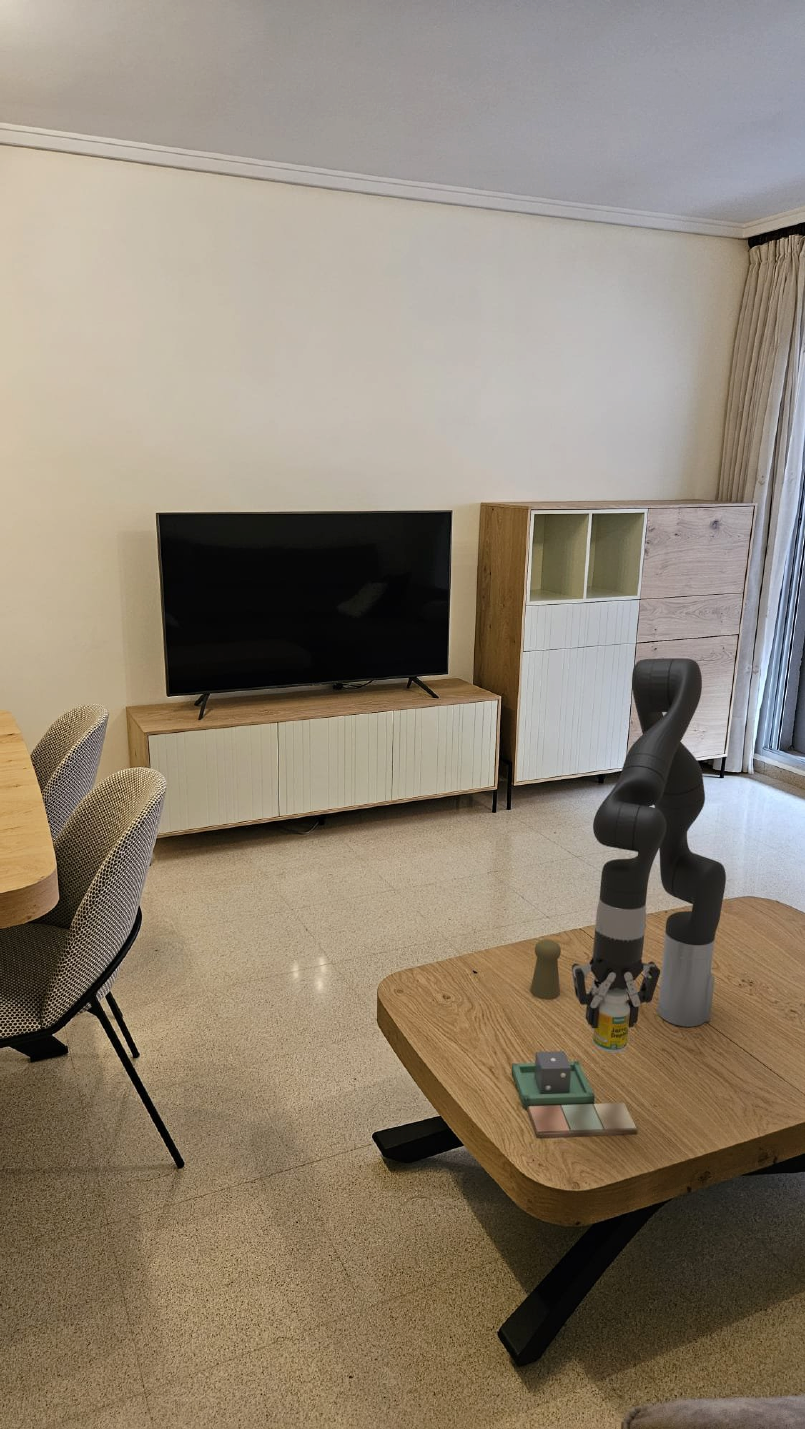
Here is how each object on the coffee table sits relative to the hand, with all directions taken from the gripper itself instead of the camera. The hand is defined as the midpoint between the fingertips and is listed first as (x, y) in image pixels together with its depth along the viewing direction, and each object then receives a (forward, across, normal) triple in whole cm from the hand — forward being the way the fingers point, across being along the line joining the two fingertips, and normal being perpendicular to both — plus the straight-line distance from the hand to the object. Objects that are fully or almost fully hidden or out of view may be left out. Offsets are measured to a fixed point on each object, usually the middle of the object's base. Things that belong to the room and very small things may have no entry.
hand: (610, 1024), depth 156 cm
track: (+18, +3, -1) cm, 18 cm away
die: (+17, +6, -10) cm, 21 cm away
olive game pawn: (+18, -2, -42) cm, 45 cm away
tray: (+18, +6, -10) cm, 21 cm away
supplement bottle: (+4, 0, 0) cm, 4 cm away
